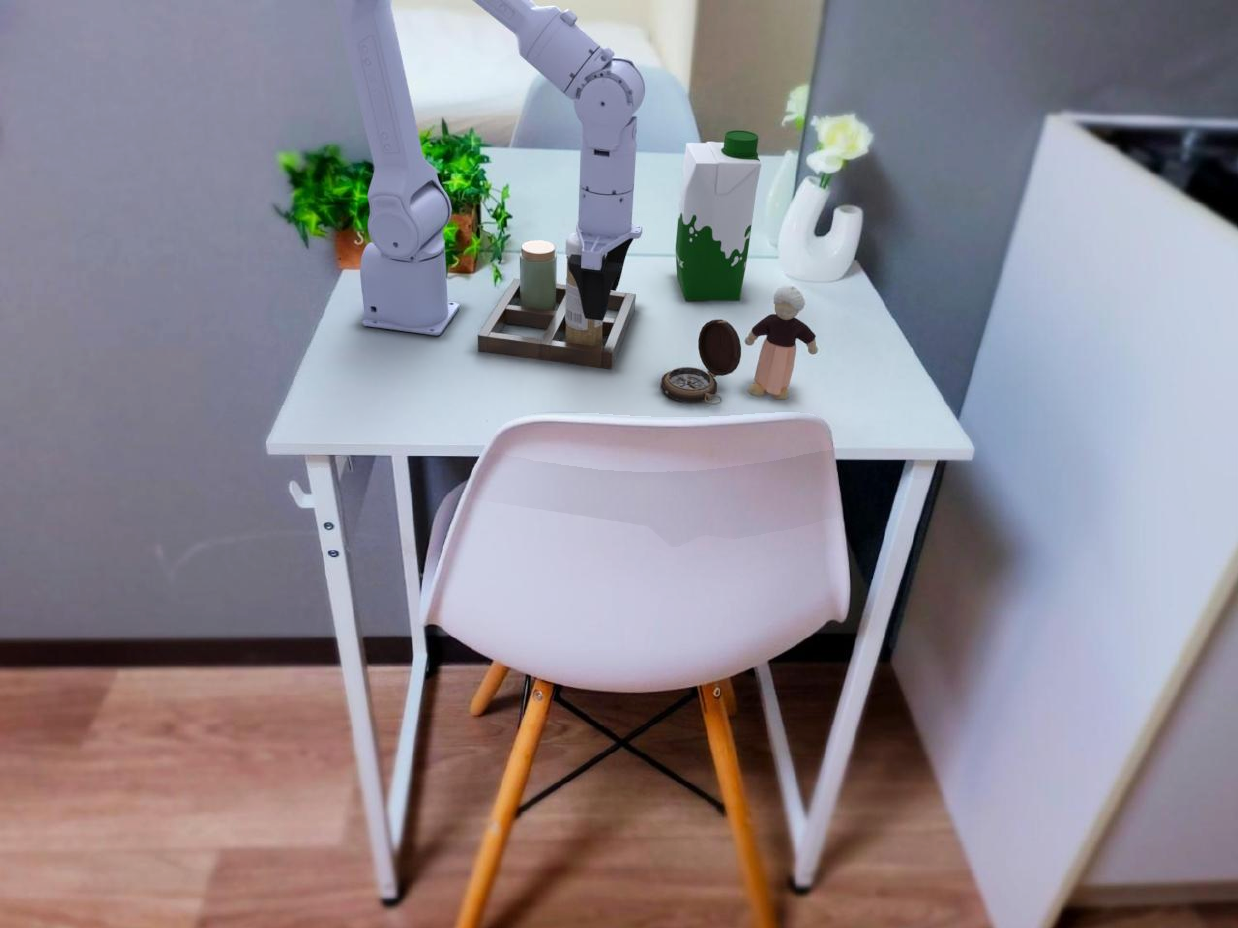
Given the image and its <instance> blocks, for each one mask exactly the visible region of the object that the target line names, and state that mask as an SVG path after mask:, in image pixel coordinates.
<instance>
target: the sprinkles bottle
mask: <svg viewBox="0 0 1238 928" xmlns="http://www.w3.org/2000/svg"><path fill="white" fill-rule="evenodd" d="M571 254H576V255H582V247H581V244H580V241H579V238H578V235H577V232H576V231H575V232H572V233H570V234H568V235H567V236H566V238H565V255H566V257H565V258H566V278H565V285H566V302H565V321H566V332H565V339H564V342H568V343H575V344H583V345H590V346H598V347H604V341H603V336H602V326H603V321H600V320H592V319H586V318H585V316H584V313H583V309H582V304H581V299H580V294H579V290H578V287H577V284H576V282H575V279H574V277H573V276H572V274H571V272H570V271H569V268H568V259H569V258H570V256H571ZM606 256H607V253H606V254H605V258H606Z"/></svg>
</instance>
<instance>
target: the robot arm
mask: <svg viewBox="0 0 1238 928" xmlns="http://www.w3.org/2000/svg"><path fill="white" fill-rule="evenodd" d="M333 2H334V7H335V10H336V11H335V12H336V15H337V19H338V23H339V27H340V33H341V36H342V40H343V44H344V48H345V52H346V56H347V60H348V64H349V69H350V73H351V77H352V80H353V84H354V89H355V93H356V97H357V102H358V105H359V109H360V113H361V118H362V122H363V127H364V130H365V134H366V138H367V142H368V146H369V151H370V154H371V158H372V162H373V167H374V170H373V174H372V178H371V180H370V184H369V188H368V192H367V201H368V205H369V217H368V220H367V233H368V236H369V238H370V241H371V242H368V243H367V245H366V246H365V247H364V249H363V251H362V255H361V258H360V264H359V276H360V287H361V295H362V305H363V314H364V319H363V320H362V325H363V326H364V327H372V328H377V329H387V330H392V331H401V332H407V333H408V332H409V333H414V334H421V335H422V334H423V335H430V336H440V335H441V334H442V333H443V332H444V330H445V329H446V327H447V326H448V324H449V322H450V321H452V318H453V317H454V316H455V314H456V313H457V312H458V310H459V309H460V304H459V303H458V302H454V301H448V281H447V279H448V278H447V264H446V263H447V261H446V247H445V239H444V231H443V230H444V228H445V227H446V226H447V225H448V224H449V222H450V220H451V217H452V211H453V210H452V203H451V199H450V197H449V195H448V194H447V192H446V191H445V188H443V186H442V184H441V183H440V180H439V177H438V172H437V169H436V168H435V166H433V165H432V164H431V163H430V162H428V160H426V159H425V158H424V154H423V149H422V144H421V140H420V139H421V138H420V135H419V131H418V126H417V121H416V116H415V111H414V107H413V103H412V98H411V94H410V88H409V84H408V79H407V75H406V69H405V66H404V60H403V55H402V51H401V46H400V42H399V39H398V37H399V36H398V33H397V28H396V23H395V19H394V13H393V10H392V4H393V2H394V0H333ZM472 2H474V3H475V4H476V5H478V6H479V7H480V8H481V9H483V10H484V11H485V12H486V13H488V14H489V15H490V16H491V17H493V18H494V19H495V20H496V21H498V22H499V23H500V24H502V25H503V26H504V27H505V28H506V29H508V30H509V31H510V32H511V33H513V34H514V36H515V39H516V43H517V51H518V54H519V56H520V57H522V59H524V60H525V61H526V62H527V63H528V64H529V65H531V67H533V68H534V69H535V70H536V71H537V72H539V73H540V74H541V75H542V76H543V77H544V78H545V79H546V80H547V81H548V82H550V83H551V84H552V85H553V86H554V87H556V88H557V89H558V90H559V91H560V92H561V93H563V94H564V96H566V97H567V99H570V100H572V101H573V107H574V112H575V114H576V116H577V118H578V120H579V122H580V123H581V140H580V153H579V155H580V156H579V158H580V159H579V160H580V161H579V189H578V221H576V226H575V232H577V235H578V238H579V241H580V244H581V247H582V255H576V254H571V256H570V258H569V259H568V268H569V271H570V272H571V274H572V276H573V277H574V279H575V282H576V284H577V287H578V290H579V294H580V299H581V304H582V309H583V313H584V316H585V318H586V319H592V320H600V321H603V319H604V317H606V314H607V311H608V309H607V307H608V303H609V298H610V293H611V291H616V292H617V289H618V287H619V283H620V280H621V277H622V272H623V268H624V263H625V260H626V256H627V253H628V251H629V248H630V247H631V244H632V242H633V241H634V239H636V240H637V239H640V238H641V237H642V234H643V227H642V226H640V225H635V224H633V207H634V206H633V205H634V189H635V176H636V161H637V131H638V129H637V127H638V126H637V125H638V116H636V115H635V114H636V113H637V111H638V110H639V109H640V108H641V106H642V103H643V101H644V99H645V94H646V85H645V80H644V77H643V75H642V73H641V72H640V70H639V69H638V68H637V67H636V66H635V64H634V62H633V61H632V60H630V59H629V58H626V57H622V56H615V52H614V51H613V50H612V49H611V48H610V47H609V46H606V47H605V48H604V47H602V46H601V45H600V44H599V43H598V42H596V41H595V39H594V38H592V37H591V36H590V35H589V34H588V33H586V31H584V30H583V29H582V28H581V27H580V26H579V25H578V24H577V23H576V22H577V21H578V18H579V17H578V16H577V15H576V14H575V13H574V12H573V11H572V10H570V8H566V9H565V10H564V11H562V10H561V9H560V8H559V7H558V6H556V5H546V6H540V5H539V6H538V5H537V4H536V3H535V2H533V0H472ZM606 253H607V256H606V258H605V254H606Z"/></svg>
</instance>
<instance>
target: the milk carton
mask: <svg viewBox="0 0 1238 928" xmlns="http://www.w3.org/2000/svg"><path fill="white" fill-rule="evenodd" d="M758 145H759V135H758V134H756V133H754V132H752V131H748V130H736V129H735V130H729V131H727V132H725V134H724V141H723V142H716V141H706V142H686V143H685V151H684V158H683V166H682V174H681V182H680V192H679V193H680V195H679V205H678V215H677V228H676V238H675V263H676V265H675V266H676V277H677V281H678V283H679V286H680V289H681V291H682V292H681V293H682V295H683V298H684V300H685V301H740V300H741V294H742V289H743V283H744V279H745V274H746V273H745V272H746V267H747V262H748V255H749V248H750V241H751V234H752V233H751V232H752V225H753V218H754V211H755V203H756V196H757V189H758V184H759V178H760V173H761V168H762V163H761V161H760V158H759V153H758Z"/></svg>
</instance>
